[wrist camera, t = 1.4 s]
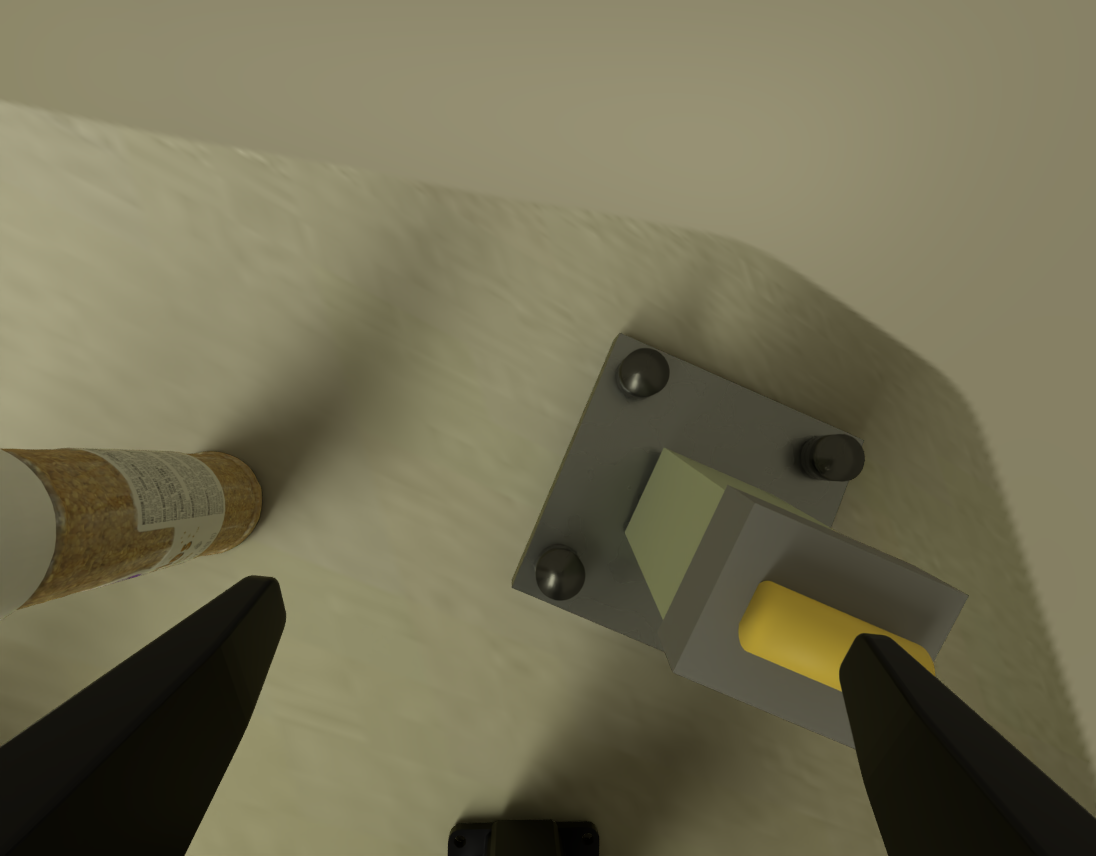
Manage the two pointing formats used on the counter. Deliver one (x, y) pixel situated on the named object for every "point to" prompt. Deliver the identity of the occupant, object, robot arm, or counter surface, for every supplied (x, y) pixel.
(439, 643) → the counter surface
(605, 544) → the plate
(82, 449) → the sprinkles bottle
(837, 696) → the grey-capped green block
